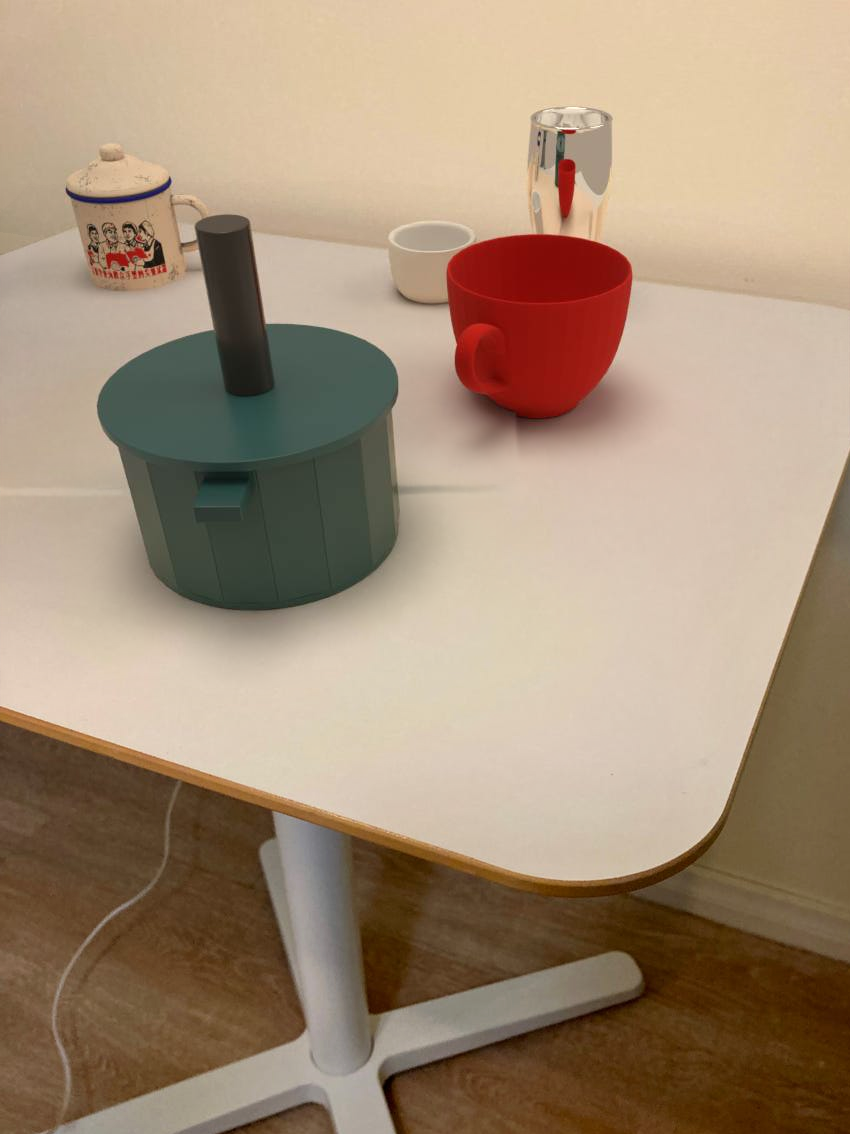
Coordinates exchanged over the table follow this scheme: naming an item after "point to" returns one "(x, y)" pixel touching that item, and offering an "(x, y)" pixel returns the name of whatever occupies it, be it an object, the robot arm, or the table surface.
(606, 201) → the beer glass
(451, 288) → the ceramic cup
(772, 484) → the table surface
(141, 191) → the teacup with lid
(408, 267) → the teacup
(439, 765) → the table surface
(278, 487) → the pot
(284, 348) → the lid
